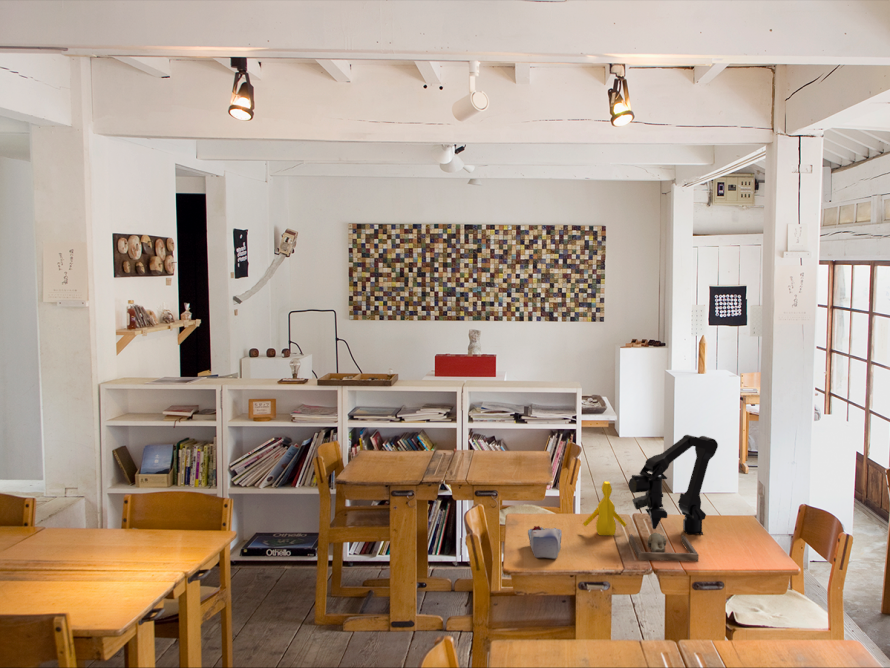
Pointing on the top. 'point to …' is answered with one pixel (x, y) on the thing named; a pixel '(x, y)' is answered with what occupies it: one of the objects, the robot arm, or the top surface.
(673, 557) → the holder
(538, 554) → the grey tapered container
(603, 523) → the figure statuette
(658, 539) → the sculpture
